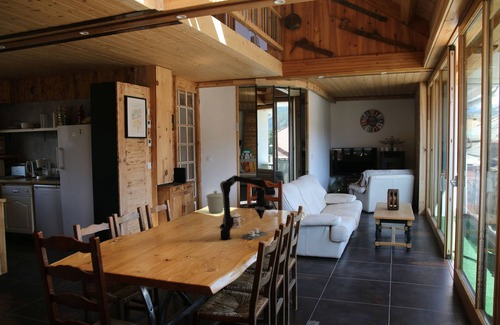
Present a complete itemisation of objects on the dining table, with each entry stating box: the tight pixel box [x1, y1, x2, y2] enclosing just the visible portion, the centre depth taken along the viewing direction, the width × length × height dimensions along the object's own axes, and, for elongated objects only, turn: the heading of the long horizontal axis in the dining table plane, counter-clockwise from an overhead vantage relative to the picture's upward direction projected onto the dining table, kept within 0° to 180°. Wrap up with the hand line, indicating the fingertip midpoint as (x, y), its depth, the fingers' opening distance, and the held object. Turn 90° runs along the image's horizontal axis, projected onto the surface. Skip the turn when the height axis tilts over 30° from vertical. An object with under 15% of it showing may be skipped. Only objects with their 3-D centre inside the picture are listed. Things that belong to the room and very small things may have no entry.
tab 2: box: [253, 227, 260, 233], centre depth 275 cm, size 3×3×3 cm
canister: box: [205, 190, 224, 215], centre depth 367 cm, size 18×18×21 cm
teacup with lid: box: [230, 211, 246, 229], centre depth 301 cm, size 12×9×12 cm
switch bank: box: [241, 230, 268, 241], centre depth 270 cm, size 18×9×2 cm, turn 142°
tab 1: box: [249, 230, 255, 236], centre depth 264 cm, size 3×3×3 cm
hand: (261, 218), depth 272 cm, fingers closed
